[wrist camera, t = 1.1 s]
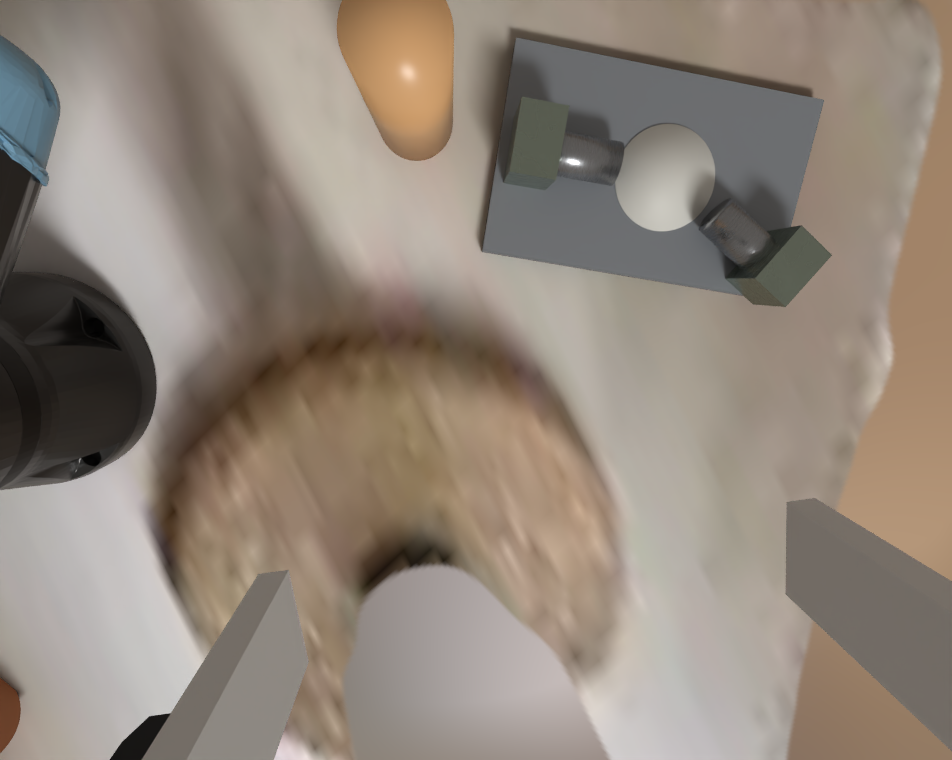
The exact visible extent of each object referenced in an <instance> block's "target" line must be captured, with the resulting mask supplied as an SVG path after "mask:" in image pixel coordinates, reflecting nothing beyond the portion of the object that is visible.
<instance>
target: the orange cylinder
mask: <svg viewBox="0 0 952 760" xmlns="http://www.w3.org/2000/svg"><path fill="white" fill-rule="evenodd" d="M337 36H338V42H339V46H340V49H341V52H342V55H343V57H344V59H345V61H346V63H347V66H348V68H349V70H350V72H351V74H352V76H353V78H354V80H355V82H356V84H357V86H358V88H359V90H360V93H361V95H362V97H363V99H364V101H365V103H366V105H367V107H368V109H369V111H370V113H371V115H372V118H373V120H374V122H375V124H376V126H377V128H378V130H379V132H380V134H381V136H382V138H383V140H384V142H385V143H386V145H387V146H388V147H389V149H391V150H392V151H393V152H394V153H395V154H397V155H398V156H400V157H402V158H404V159H408V160H413V161H421V160H426V159H429V158H431V157H433V156H435V155H436V154H438V153H439V152H440V151H441V150H442V149H443V148H444V147H445V145H446V144H447V142H448V140H449V138H450V135H451V132H452V126H453V61H454V27H453V20H452V16H451V12H450V9H449V7H448V4H447V2H446V0H342V2H341V5H340V9H339V12H338V18H337Z"/></svg>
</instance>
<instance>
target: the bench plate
mask: <svg viewBox="0 0 952 760" xmlns="http://www.w3.org/2000/svg"><path fill="white" fill-rule="evenodd" d="M521 97H527V98H533V99H538V100H543V101H548V102H553V103H558V104H564V105H569V111H568V117H567V123H566V128H565V131H569V132H574V133H579V134H584V135H590V136H595V137H600V138H605V139H611V140H616V141H621V142H623V143H624V157H623V162H622V166H621V169H620V172H619V175H618V177H617V179H616V181H615V183H614V184H613V185H612V186H608V185H602V184H597V183H591V182H586V181H580V180H575V179H570V178H564V177H559V176H557V178H556V181H555V182H554V183H553V184H552V185H550V186H549V187H548V188H547V189H546V190H539V189H534V188H528V187H523V186H517V185H512V184H506V183H504V176H505V170H506V164H507V158H508V152H509V146H510V139H511V133H512V127H513V121H514V115H515V113H516V110H517V108H518V105H519V103H520V100H521ZM823 102H824V100H822V99H817V98H812V97H807V96H802V95H797V94H792V93H787V92H782V91H777V90H772V89H768V88H763V87H758V86H753V85H748V84H743V83H738V82H733V81H728V80H723V79H718V78H713V77H708V76H703V75H699V74H694V73H689V72H684V71H679V70H674V69H669V68H664V67H659V66H654V65H649V64H644V63H639V62H635V61H630V60H625V59H620V58H615V57H610V56H605V55H600V54H595V53H590V52H585V51H580V50H575V49H571V48H566V47H561V46H556V45H551V44H546V43H541V42H536V41H531V40H526V39H521V38H516V41H515V44H514V51H513V57H512V63H511V70H510V76H509V82H508V89H507V95H506V101H505V108H504V114H503V120H502V127H501V133H500V139H499V146H498V152H497V158H496V165H495V171H494V177H493V184H492V190H491V196H490V203H489V209H488V215H487V222H486V228H485V234H484V241H483V247H482V252H486V253H492V254H498V255H504V256H510V257H516V258H522V259H528V260H534V261H539V262H545V263H551V264H557V265H563V266H569V267H575V268H581V269H587V270H593V271H599V272H605V273H611V274H617V275H622V276H628V277H634V278H640V279H646V280H652V281H658V282H664V283H670V284H676V285H682V286H688V287H694V288H700V289H706V290H711V291H717V292H723V293H729V294H735V295H741V296H743V295H742V294H741V293H740V292H739V291H738V290H737V289H736V288H735V287H734V286H732V285H731V284H730V283H729V282H728V281H727V280H726V279H725V278H726V277H727V276H728V275H729V273H730V272H731V271H732V270H733V269H734V268H735V267H736V264H734V263H733V262H732V261H731V260H730V259H729V258H728V257H727V256H726V255H725V254H724V253H723V252H722V251H721V250H720V249H718V248H717V247H716V246H715V245H714V244H713V243H712V242H711V241H710V240H709V239H708V238H707V237H706V236H705V235H703V234H702V233H701V232H700V231H699V226H700V224H701V222H702V221H703V220H704V218H705V217H706V216H707V215H708V214H709V213H710V212H711V211H712V210H713V209H714V208H715V207H716V206H718V205H719V204H720V203H722V202H723V201H725V200H727V199H729V198H732V199H734V200H735V201H736V202H737V203H738V204H739V205H740V206H741V207H742V208H743V209H744V210H745V211H746V212H747V213H748V214H749V215H750V216H751V217H752V218H753V219H754V220H755V221H756V222H757V223H758V224H759V225H761V226H762V227H763V228H764V229H765V230H766V231H770V230H776V229H782V228H789V227H791V223H792V220H793V216H794V212H795V208H796V204H797V201H798V197H799V193H800V189H801V186H802V182H803V178H804V174H805V170H806V167H807V163H808V159H809V155H810V152H811V148H812V144H813V140H814V136H815V133H816V129H817V125H818V121H819V118H820V114H821V110H822V106H823Z"/></svg>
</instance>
